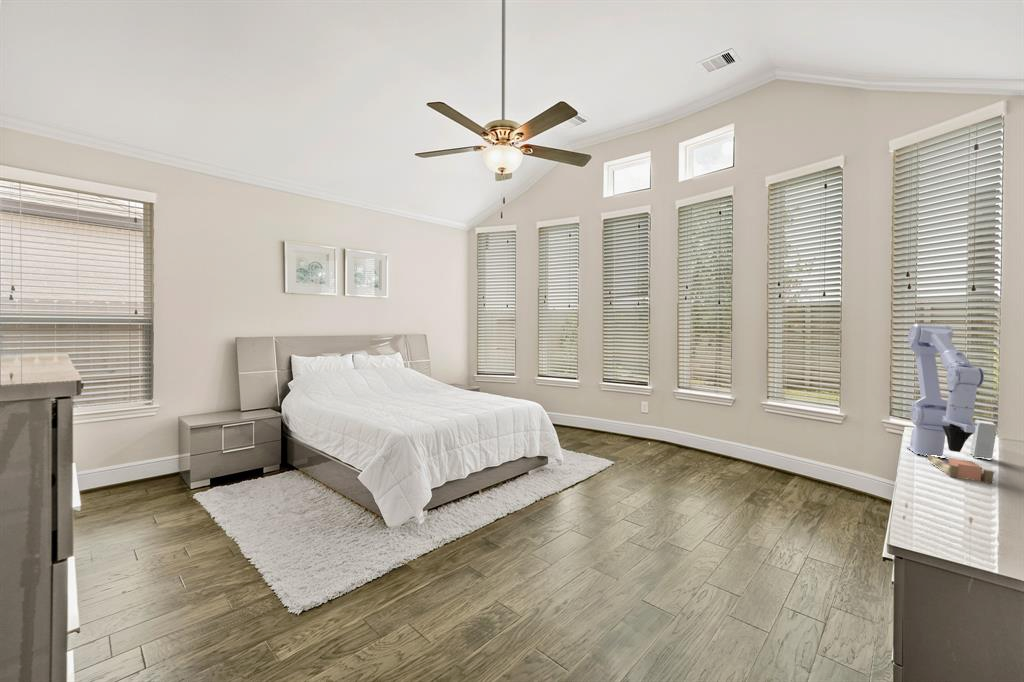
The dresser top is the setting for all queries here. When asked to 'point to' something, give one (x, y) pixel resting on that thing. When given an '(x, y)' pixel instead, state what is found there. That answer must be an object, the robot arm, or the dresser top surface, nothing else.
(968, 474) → the block
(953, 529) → the dresser top surface
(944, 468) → the chute
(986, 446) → the skincare box
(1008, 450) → the dresser top surface
